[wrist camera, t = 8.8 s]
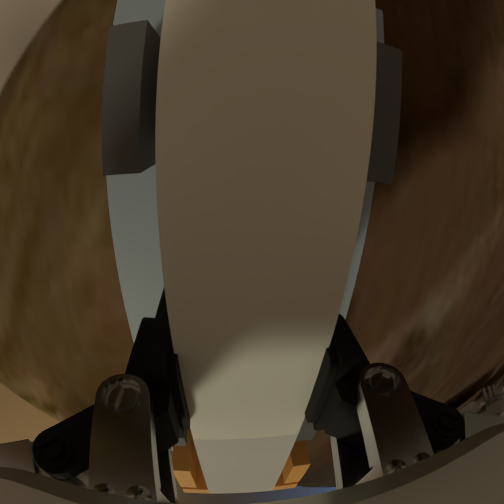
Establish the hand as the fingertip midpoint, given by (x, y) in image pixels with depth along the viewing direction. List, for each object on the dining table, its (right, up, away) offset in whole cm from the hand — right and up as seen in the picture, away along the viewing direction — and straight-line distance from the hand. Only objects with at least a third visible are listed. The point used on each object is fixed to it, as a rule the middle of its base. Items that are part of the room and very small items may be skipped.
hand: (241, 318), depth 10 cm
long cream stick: (0, 0, +1) cm, 1 cm away
